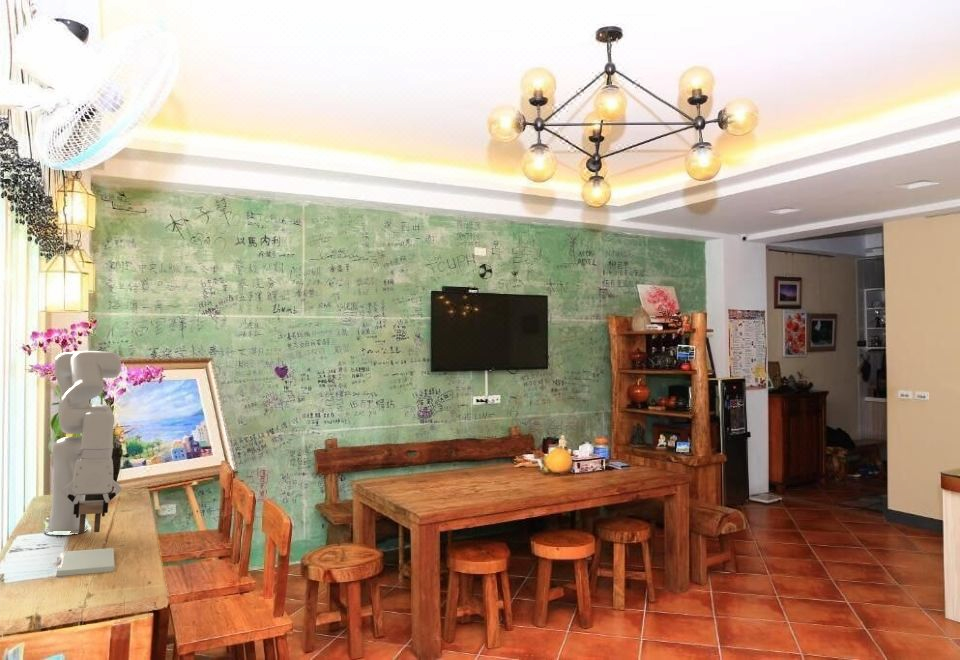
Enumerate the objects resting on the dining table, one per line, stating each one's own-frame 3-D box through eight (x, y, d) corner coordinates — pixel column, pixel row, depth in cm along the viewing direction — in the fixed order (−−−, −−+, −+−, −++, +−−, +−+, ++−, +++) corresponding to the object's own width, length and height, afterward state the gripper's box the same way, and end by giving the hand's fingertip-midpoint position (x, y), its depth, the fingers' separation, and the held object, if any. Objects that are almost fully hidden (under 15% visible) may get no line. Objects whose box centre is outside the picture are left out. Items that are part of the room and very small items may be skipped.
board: (60, 556, 203) (60, 551, 203) (113, 552, 210) (113, 547, 210) (56, 576, 188) (56, 570, 188) (114, 571, 194) (114, 566, 194)
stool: (77, 528, 200) (79, 501, 200) (101, 527, 203) (103, 500, 203) (77, 533, 195) (79, 505, 195) (101, 532, 198) (103, 504, 198)
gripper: (60, 456, 192) (54, 521, 192) (128, 455, 201) (124, 517, 200) (61, 452, 199) (56, 515, 198) (128, 451, 207) (123, 511, 207)
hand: (90, 515), depth 199 cm, fingers closed on stool, 6 cm apart
